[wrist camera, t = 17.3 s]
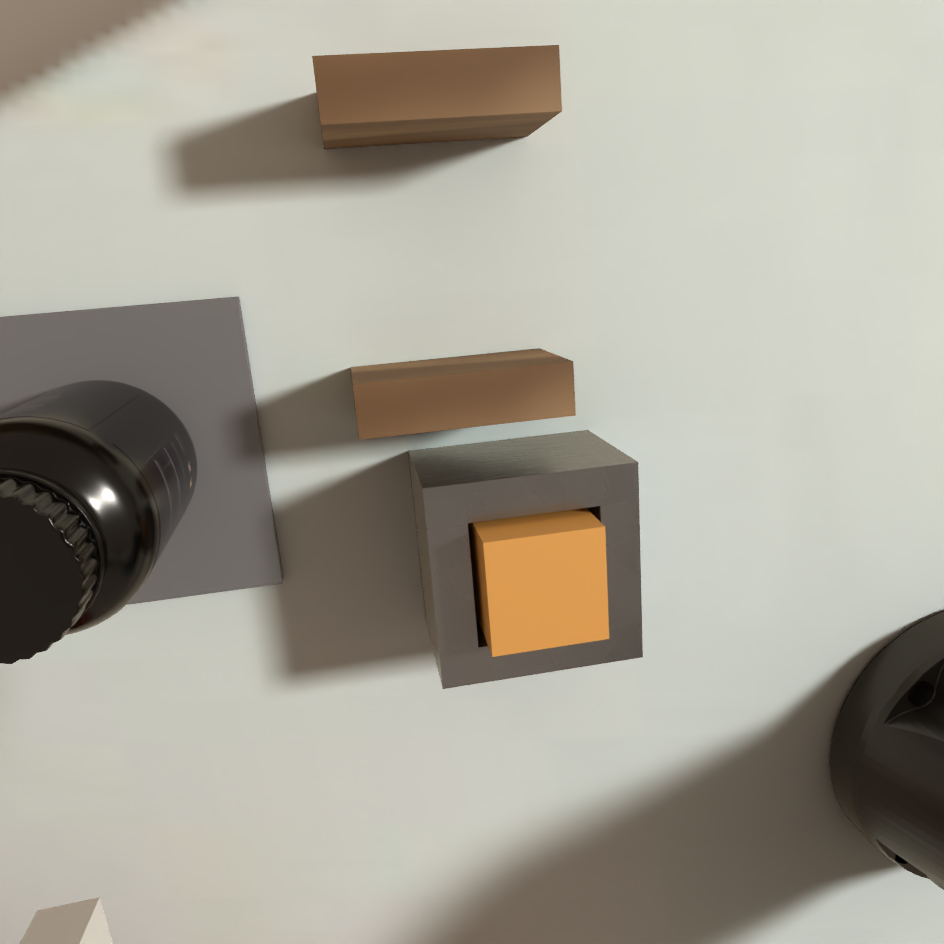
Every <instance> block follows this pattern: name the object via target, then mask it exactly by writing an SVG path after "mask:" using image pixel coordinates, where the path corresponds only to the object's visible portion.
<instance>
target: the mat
mask: <svg viewBox="0 0 944 944" xmlns="http://www.w3.org/2000/svg"><path fill="white" fill-rule="evenodd" d="M90 380H107V381H115V382H121V383H125V384H128V385H131V386H134V387H137V388H139V389H142V390H144V391H146V392H148V393H150V394H151V395H153V396H155V397H156V398H158V399H159V400H160V401H162V402H163V403H164V404H165V405H167V406H168V407H169V408H170V409H171V410H172V411H173V412H174V413H175V414H176V415H177V417H178V418H179V419H180V420H181V422H182V423H183V425H184V426H185V428H186V430H187V431H188V433H189V435H190V438H191V440H192V442H193V445H194V449H195V453H196V458H197V480H196V485H195V490H194V493H193V496H192V499H191V501H190V503H189V505H188V507H187V509H186V511H185V513H184V515H183V517H182V519H181V520H180V522H179V524H178V526H177V527H176V529H175V531H174V533H173V534H172V536H171V538H170V540H169V542H168V543H167V545H166V547H165V549H164V550H163V552H162V554H161V556H160V557H159V559H158V561H157V563H156V564H155V566H154V568H153V570H152V571H151V573H150V575H149V576H148V578H147V580H146V581H145V583H144V584H143V586H142V587H141V588H140V590H139V591H138V592H137V593H136V595H135V596H134V597H133V598H132V599H131V600H130V601H129V602H128V604H135V603H142V602H149V601H157V600H164V599H171V598H179V597H186V596H193V595H201V594H208V593H215V592H223V591H230V590H237V589H245V588H252V587H259V586H267V585H274V584H281V583H282V582H283V574H282V567H281V561H280V555H279V548H278V542H277V536H276V529H275V523H274V516H273V510H272V504H271V497H270V491H269V485H268V478H267V472H266V465H265V459H264V453H263V446H262V440H261V434H260V427H259V421H258V414H257V408H256V402H255V395H254V389H253V383H252V376H251V370H250V363H249V357H248V351H247V344H246V338H245V332H244V325H243V319H242V312H241V306H240V300H239V297H229V298H217V299H205V300H194V301H182V302H170V303H159V304H147V305H135V306H124V307H112V308H100V309H89V310H77V311H65V312H54V313H42V314H31V315H19V316H7V317H0V415H1V414H3V413H5V412H7V411H9V410H11V409H13V408H16V407H18V406H20V405H22V404H24V403H26V402H28V401H30V400H33V399H35V398H37V397H39V396H41V395H43V394H45V393H48V392H50V391H53V390H55V389H58V388H60V387H62V386H65V385H69V384H72V383H77V382H82V381H90Z"/></svg>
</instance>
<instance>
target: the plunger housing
mask: <svg viewBox="0 0 944 944" xmlns="http://www.w3.org/2000/svg"><path fill="white" fill-rule="evenodd" d="M409 461H410V470H411V480H412V489H413V499H414V508H415V518H416V527H417V537H418V546H419V556H420V565H421V575H422V584H423V594H424V603H425V613H426V621H427V625H428V630H429V634H430V638H431V642H432V646H433V650H434V654H435V658H436V663H437V667H438V671H439V675H440V679H441V683H442V687H443V689H445V688H452V687H458V686H464V685H470V684H477V683H483V682H489V681H495V680H502V679H508V678H514V677H521V676H527V675H533V674H539V673H546V672H552V671H558V670H564V669H571V668H577V667H583V666H590V665H596V664H602V663H608V662H615V661H621V660H627V659H634V658H640V657H643V653H642V610H641V568H640V525H639V483H638V462H637V461H635V460H634V459H632V458H631V457H629V456H628V455H626V454H624V453H623V452H621V451H620V450H618V449H617V448H615V447H614V446H612V445H610V444H609V443H607V442H606V441H604V440H603V439H601V438H600V437H598V436H596V435H595V434H593V433H592V432H590V431H589V430H585V431H576V432H568V433H559V434H551V435H542V436H533V437H525V438H516V439H507V440H499V441H490V442H482V443H473V444H464V445H456V446H447V447H439V448H430V449H421V450H413V451H409ZM581 508H587V509H588V510H589V511H590V512H591V513H592V514H593V515H594V516H595V517H596V518H597V519H598V520H599V521H600V522H601V523H602V524H603V525H604V526H605V534H606V562H607V589H608V617H609V639H605V640H599V641H592V642H586V643H579V644H573V645H567V646H560V647H554V648H547V649H541V650H534V651H528V652H521V653H515V654H509V655H502V656H496V657H492V654H491V652H490V649H489V647H488V644H487V642H486V639H485V637H484V634H483V631H482V629H481V626H480V624H479V621H478V619H477V616H476V614H475V602H474V591H473V579H472V568H471V556H470V545H469V533H468V523H473V522H481V521H489V520H496V519H504V518H512V517H519V516H527V515H535V514H542V513H550V512H558V511H565V510H573V509H581Z"/></svg>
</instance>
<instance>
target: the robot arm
mask: <svg viewBox="0 0 944 944" xmlns="http://www.w3.org/2000/svg"><path fill="white" fill-rule="evenodd" d="M830 766H831V776H832V782H833V786H834V790H835V793H836V796H837V799H838V801H839V803H840V805H841V807H842V809H843V810H844V812H845V814H846V815H847V816H848V818H849V819H850V820H851V821H852V822H853V824H854V825H855V826H856V827H857V828H858V829H859V830H860V831H861V832H862V833H863V834H864V835H865V836H866V837H867V839H868V840H869V841H870V842H871V843H872V844H873V845H874V846H875V847H876V848H877V849H878V850H879V851H880V852H881V853H882V854H884V855H885V856H886V857H887V858H889V859H890V860H891V861H893V862H894V863H896V864H897V865H899V866H900V867H902V868H904V869H906V870H908V871H910V872H912V873H914V874H916V875H919V876H921V877H925V878H928V879H930V880H931V881H932V882H934V883H935V884H936V885H938V886H939V887H940V888H942V889H943V890H944V612H941V613H939V614H937V615H934V616H932V617H930V618H928V619H926V620H924V621H922V622H920V623H919V624H917V625H915V626H913V627H912V628H910V629H909V630H907V631H906V632H904V633H903V634H902V635H900V636H899V637H898V638H896V639H895V640H894V641H893V642H891V643H890V644H889V645H888V646H887V647H886V648H885V649H884V650H883V651H881V652H880V653H879V654H878V655H877V657H876V658H875V659H874V660H873V661H872V662H871V663H870V664H869V665H868V667H867V668H866V669H865V670H864V672H863V673H862V674H861V676H860V677H859V679H858V680H857V682H856V683H855V685H854V686H853V688H852V689H851V691H850V693H849V695H848V697H847V698H846V701H845V703H844V705H843V707H842V709H841V712H840V714H839V717H838V720H837V723H836V726H835V730H834V734H833V739H832V745H831V755H830ZM20 944H113V941H112V938H111V935H110V931H109V928H108V924H107V921H106V918H105V914H104V911H103V908H102V904H101V901H100V898H96V899H91V900H86V901H81V902H77V903H72V904H67V905H62V906H58V907H53V908H48V909H43V910H39V911H37V912H36V914H35V916H34V918H33V920H32V922H31V924H30V925H29V927H28V929H27V931H26V933H25V935H24V937H23V939H22V941H21V942H20Z"/></svg>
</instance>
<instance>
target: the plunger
mask: <svg viewBox="0 0 944 944" xmlns="http://www.w3.org/2000/svg"><path fill="white" fill-rule="evenodd" d="M468 533H469V545H470V556H471V568H472V579H473V591H474V602H475V614H476V616H477V619H478V621H479V624H480V626H481V629H482V631H483V634H484V637H485V639H486V642H487V644H488V647H489V649H490V652H491V654H492V657H496V656H502V655H509V654H515V653H521V652H528V651H534V650H541V649H547V648H554V647H560V646H567V645H573V644H579V643H586V642H592V641H599V640H605V639H609V617H608V589H607V562H606V534H605V526H604V525H603V524H602V523H601V522H600V521H599V520H598V519H597V518H596V517H595V516H594V515H593V514H592V513H591V512H590V511H589V510H588V509H587V508H581V509H573V510H565V511H558V512H550V513H542V514H535V515H527V516H519V517H512V518H504V519H496V520H489V521H481V522H473V523H468Z"/></svg>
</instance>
